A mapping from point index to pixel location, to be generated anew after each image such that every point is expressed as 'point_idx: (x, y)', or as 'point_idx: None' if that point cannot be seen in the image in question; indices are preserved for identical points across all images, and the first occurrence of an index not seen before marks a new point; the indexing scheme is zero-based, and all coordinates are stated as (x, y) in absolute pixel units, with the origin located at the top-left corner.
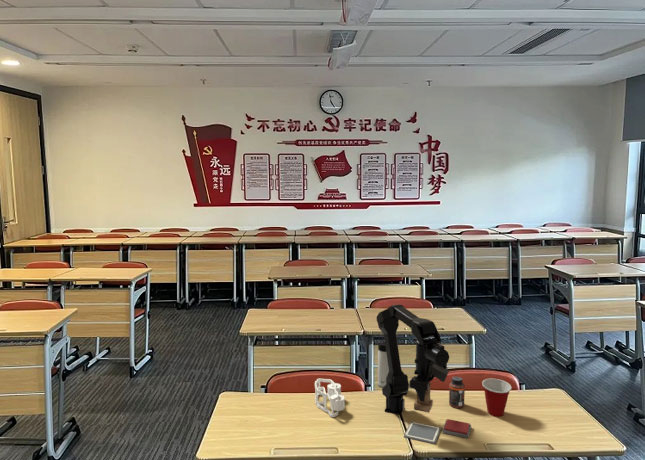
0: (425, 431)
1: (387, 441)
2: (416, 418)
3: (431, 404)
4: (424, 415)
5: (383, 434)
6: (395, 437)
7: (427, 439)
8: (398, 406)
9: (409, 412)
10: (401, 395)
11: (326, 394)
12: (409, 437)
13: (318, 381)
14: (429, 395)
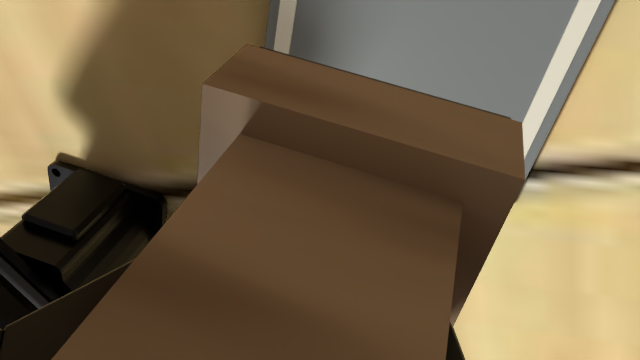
0: (404, 24)
1: (579, 318)
2: (171, 82)
3: (333, 98)
4: (93, 9)
5: (475, 326)
6: (514, 263)
7: (579, 15)
8: (114, 235)
9: (101, 128)
10: (25, 268)
11: None
12: (528, 173)
13: None
14: (266, 243)
